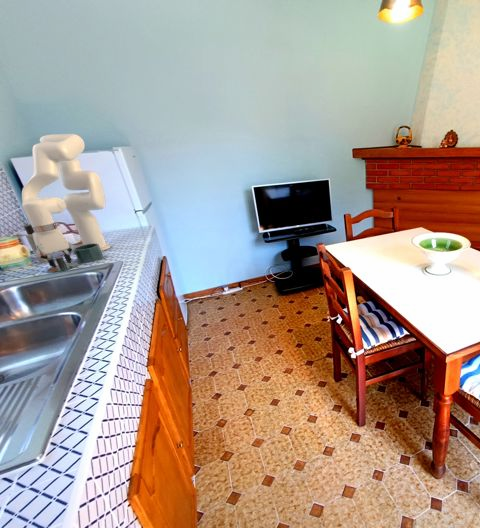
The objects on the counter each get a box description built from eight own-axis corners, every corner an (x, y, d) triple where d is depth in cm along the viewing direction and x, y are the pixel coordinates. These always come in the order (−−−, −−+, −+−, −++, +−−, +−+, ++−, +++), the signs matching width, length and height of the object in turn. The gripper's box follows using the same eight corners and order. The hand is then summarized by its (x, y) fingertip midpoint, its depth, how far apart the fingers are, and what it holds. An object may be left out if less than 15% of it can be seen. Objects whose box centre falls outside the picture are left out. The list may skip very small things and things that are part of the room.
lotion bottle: (56, 260, 155) (39, 223, 147) (42, 265, 150) (23, 226, 142) (51, 259, 157) (33, 222, 149) (37, 263, 152) (18, 225, 144)
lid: (43, 271, 142) (38, 260, 139) (72, 263, 151) (67, 252, 148) (54, 275, 136) (48, 263, 134) (83, 266, 145) (78, 255, 143)
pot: (75, 262, 151) (69, 248, 148) (98, 255, 159) (92, 242, 156) (84, 265, 146) (78, 251, 144) (107, 258, 155) (102, 244, 152)
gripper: (64, 222, 144) (79, 257, 151) (16, 232, 130) (35, 270, 138) (71, 224, 141) (86, 259, 148) (22, 234, 127) (41, 273, 134)
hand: (61, 264), depth 143 cm, fingers open, 5 cm apart
